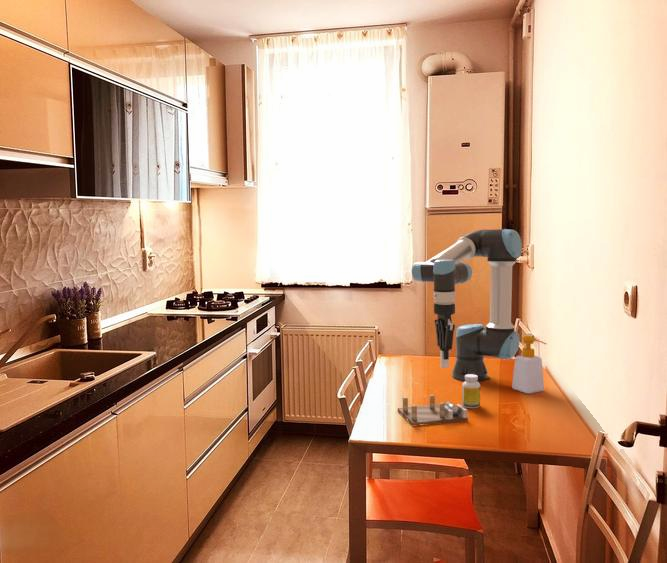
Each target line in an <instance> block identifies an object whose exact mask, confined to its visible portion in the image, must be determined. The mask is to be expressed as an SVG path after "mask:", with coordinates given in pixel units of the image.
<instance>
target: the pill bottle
mask: <svg viewBox="0 0 667 563" xmlns="http://www.w3.org/2000/svg"><path fill="white" fill-rule="evenodd" d="M465 380H466V381H463V382H462V384H461V385H462V390H461V391H462V392H461V393H462V400H461V401H462V403H461V405H462V406H463V407H464V408H465V409H478V408H480V406H481V384H480V383H479V382H480V381H477V380H478V376H477V375H474V374H467V375H465Z"/></svg>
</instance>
